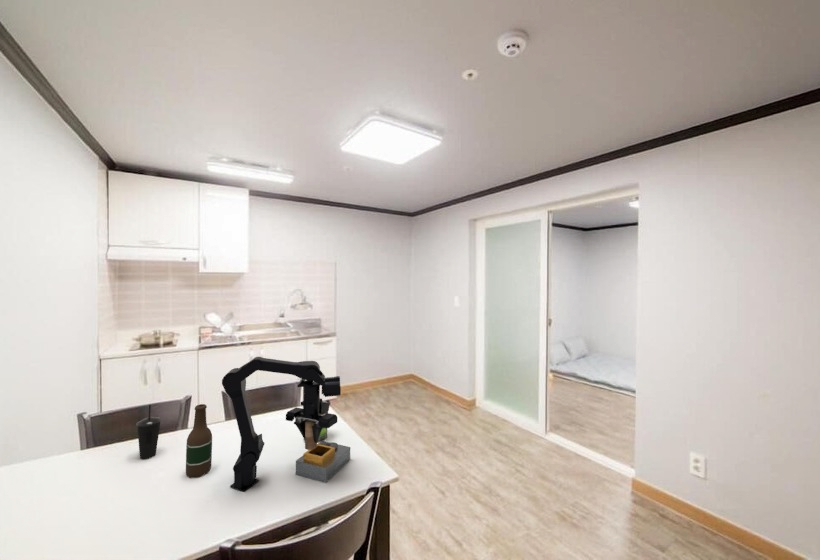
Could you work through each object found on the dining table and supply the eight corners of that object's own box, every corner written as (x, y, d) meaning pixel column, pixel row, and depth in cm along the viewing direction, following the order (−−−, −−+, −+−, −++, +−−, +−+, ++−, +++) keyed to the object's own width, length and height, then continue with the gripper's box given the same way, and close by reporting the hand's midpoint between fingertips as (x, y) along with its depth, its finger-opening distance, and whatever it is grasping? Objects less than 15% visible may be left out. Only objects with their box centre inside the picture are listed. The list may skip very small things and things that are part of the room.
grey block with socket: (325, 483, 111) (326, 461, 111) (295, 474, 116) (296, 453, 116) (350, 459, 126) (350, 440, 126) (322, 453, 131) (322, 434, 131)
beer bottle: (198, 480, 112) (200, 410, 112) (179, 476, 113) (182, 408, 113) (216, 467, 119) (218, 402, 120) (198, 464, 121) (200, 400, 121)
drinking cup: (165, 451, 129) (167, 401, 130) (148, 462, 122) (149, 409, 122) (147, 450, 130) (149, 400, 130) (129, 460, 122) (131, 408, 123)
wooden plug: (311, 450, 113) (312, 425, 113) (302, 448, 114) (302, 423, 114) (319, 445, 116) (319, 420, 116) (310, 443, 118) (310, 418, 118)
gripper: (346, 393, 120) (345, 436, 119) (305, 387, 126) (305, 427, 126) (327, 404, 109) (327, 450, 109) (284, 397, 116) (284, 440, 116)
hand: (311, 441), depth 115 cm, fingers closed on wooden plug, 4 cm apart
